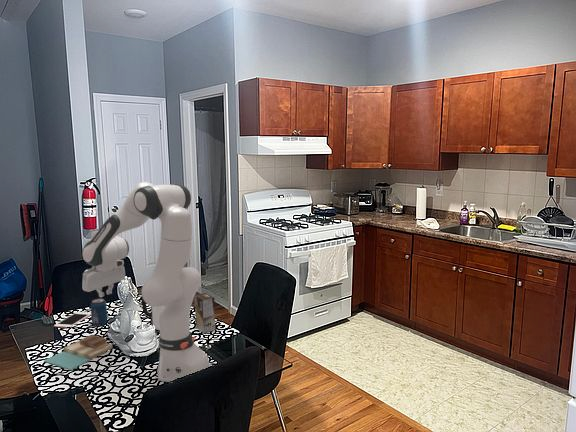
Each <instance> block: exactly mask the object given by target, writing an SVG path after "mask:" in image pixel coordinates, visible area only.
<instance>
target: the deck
mask: <svg viewBox="0 0 576 432" xmlns="http://www.w3.org/2000/svg"><path fill="white" fill-rule="evenodd" d="M112 348H113V344H112V343H107V342H106V343H105V344H103V345H101V346H99V347H97V348H95V349H94V348H90V347H87V346H83V345H80V340H78V341H75V342H73V343H71V344H69V345H67V346H64V347H63V351H64V352H67V353H70V354H74V355H77V356H80V357H84V358H87V359H90V361H92V360H94V359H96V358H98V357H100V356H102V355H103V353H104V354H105V352H106V351H108V350H110V349H112ZM112 350H113V349H112ZM110 351H111V350H110ZM108 352H109V351H108ZM106 353H107V352H106ZM101 354H102V355H101ZM99 355H100V356H99ZM97 356H98V357H97ZM93 358H94V359H93Z"/></svg>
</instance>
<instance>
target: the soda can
mask: <svg viewBox="0 0 576 432" xmlns="http://www.w3.org/2000/svg"><path fill="white" fill-rule="evenodd" d="M107 311H108V310H107V301H106V300H105V299H104V298H95V299H92V301H91V303H90V313H91V315H90V316H91V324H92V325H93V326H94V327H102V326H104V324H105V325H106V324H107V321H108V312H107ZM101 325H102V326H101Z"/></svg>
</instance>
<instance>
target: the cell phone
mask: <svg viewBox="0 0 576 432" xmlns="http://www.w3.org/2000/svg"><path fill="white" fill-rule="evenodd" d="M90 316H91V312H86V311H76V312H75V313H73V314H71V315H69V316H67V317H66V318H64V319H63V320H61V321H59V322H57V323H56V324H54V325H53V327H57V328H67V327H70V328H72V327H74V326H75V324H76V325H77V324H79V323H80V322H82V321H83V320H85V319H87V318H88V317H90ZM81 320H82V321H81ZM78 322H79V323H78ZM73 325H74V326H73Z"/></svg>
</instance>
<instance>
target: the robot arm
mask: <svg viewBox="0 0 576 432" xmlns="http://www.w3.org/2000/svg"><path fill="white" fill-rule="evenodd" d="M191 203H192V194H191V192H190V190H189V189H188V188H187V187H186V186H185V185H182V184H177V183H176V184H153V183H151V182H148V181H142V182H138V184H136V185H135V186H134V187H133V189H132V190H131V191H130V192H129V194H128V196H127V197H126V198H125V200H124V202H123V204H121V206H120V207H118V209H117V210H116V212H114V213H113V214H112V215H110V216H109V217H108V218H107V219H106V220H105V221H104V223H102V225H101V226H100V228H97V229H93V230H92V231H91V233H90V234H91V235H90V240H89V241H87V242H86V243H85V245H84V246H83V248H82V251H81V256H82V260H83V261H84V262H85V263H86V264H87V265H90V266H91V268H87V269H86V270H84V272H82V284H81V285H82V286H81V287H82V290H83V292H87V293H89V292H92V291H96V292H97V294H98V297H99V298H103V297H105V293H106V295H111V294H113V292H112V291H113V289H114V286H115V285H114V284H116V283H120V282H121V281H122V282H123V281H124V280H125V279H126V270H125V269H126V268H125V266H124V265H125V262H124V259H125V258H127V257H128V255H129V252H130V246H129V242H128V241H127V240H126V239H125V238H124V237H122V236H121V237H120V236H118V235H119V234H121V233H124V232H128V231H130V230H133V229H136V228H140V227H142V226H143V225H144V224H145V223H147V221H149V219H150V220H156V219H159V220H160V223H161V229H160V240H159V241H160V242H159V253H158V257H157V261H156V263H155V266H154V269H153V271H152V273H151V275H150V276H149V277H148V279H146V281H145V282H144V283H143V285H142V286H141V298H142V297H143V300H144V301H145V302H146V305H148V306H149V307H150V308H151V307H156V306H163V305H166V306H165V308H164V310H163V311H162V312H161V314H160V317H159V325H160V330H159V335H158V346H159V349H160V350H159V361H158V365H157V370H156V372H157V375H158V376H157V380H158V381H161V382H168V383H171V382H170V381H173V380H175V379H177V378H180V377H183V376H186V375H189V374H192V373H195V372H197V371H200V370H202V369H205V368H207V367H209V366H212V364H211V363H210V361H209V356H208V354H207V353H206V352H204V350H203V349H201V347H199V346H198V345H197V344H196V343H195V340H196V336H192V333H191V331H190V327H191V325H190V314H191V308H192V305H193V304H192V303H193V301H194V299H195V295H196V294H197V292H198V290H199V289H200V288H201V285H202V276H201V273H200V272H199V270H198V269H197V268H195V267H192V266H185V265H186V264H187V263H188V262H189V260H190V258H191V251H192V239H193V237H192V236H193V226H192V224H193V223H192V216H191V212H190V211H189V210H188V208H189V207H190V205H191ZM104 287H108V288H107V289H106V291H105V292H103V291H102V290H103V288H104Z"/></svg>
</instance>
